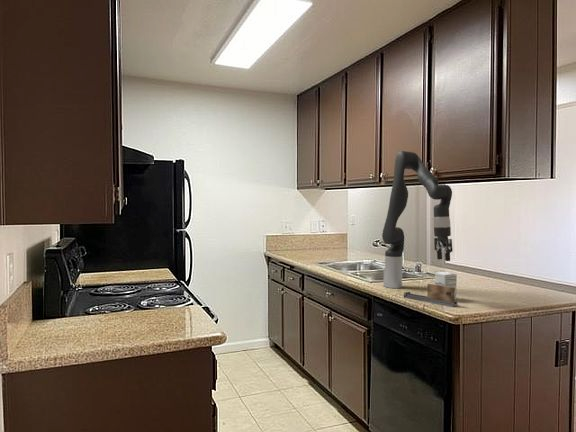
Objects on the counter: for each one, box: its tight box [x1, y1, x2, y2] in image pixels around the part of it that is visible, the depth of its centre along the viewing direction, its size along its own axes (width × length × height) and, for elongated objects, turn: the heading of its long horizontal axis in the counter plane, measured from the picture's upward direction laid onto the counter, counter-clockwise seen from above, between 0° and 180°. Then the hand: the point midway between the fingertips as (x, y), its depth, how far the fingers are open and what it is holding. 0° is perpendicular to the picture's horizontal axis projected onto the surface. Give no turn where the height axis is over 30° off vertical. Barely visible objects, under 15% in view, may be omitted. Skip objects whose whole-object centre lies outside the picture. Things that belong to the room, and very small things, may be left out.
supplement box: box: [434, 271, 458, 301], centre depth 208 cm, size 7×7×13 cm
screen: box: [426, 283, 455, 303], centre depth 197 cm, size 13×2×7 cm, turn 40°
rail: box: [403, 291, 459, 308], centre depth 202 cm, size 26×4×2 cm, turn 40°
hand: (443, 260), depth 205 cm, fingers open, 8 cm apart
